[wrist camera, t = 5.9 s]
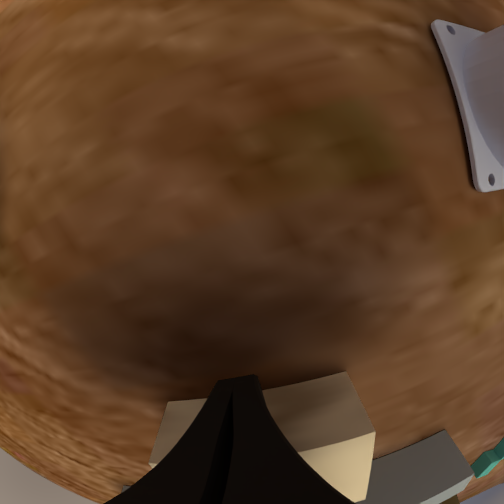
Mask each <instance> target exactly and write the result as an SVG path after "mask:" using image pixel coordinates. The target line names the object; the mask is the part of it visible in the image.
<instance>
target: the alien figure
mask: <svg viewBox="0 0 504 504" xmlns="http://www.w3.org/2000/svg"><path fill="white" fill-rule="evenodd" d="M502 459H504V438H503V439H502V440H501V441H500V443H499V444H498V445H497V446H496V447H495V448H494V450H490V451H486V452H484V453H483V454H482V455H481V456H480V457H479V458H478V459H477V460H476V461H475V462H474V463H473V464H472V465H471V466H470V467H471V468H472V470H473V471H474V473H475V474H474V475H475V477H476V478H479V477H482V476H485V475H487V474H488V473H489V472H490V471H491V470H492V469H493V468H494V467H495V466H496V465H497V464H498V462H499V461H500V460H502Z"/></svg>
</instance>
